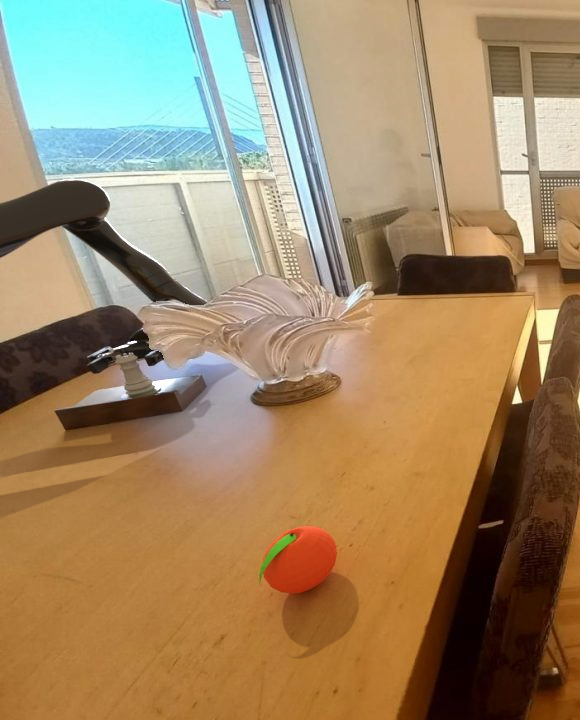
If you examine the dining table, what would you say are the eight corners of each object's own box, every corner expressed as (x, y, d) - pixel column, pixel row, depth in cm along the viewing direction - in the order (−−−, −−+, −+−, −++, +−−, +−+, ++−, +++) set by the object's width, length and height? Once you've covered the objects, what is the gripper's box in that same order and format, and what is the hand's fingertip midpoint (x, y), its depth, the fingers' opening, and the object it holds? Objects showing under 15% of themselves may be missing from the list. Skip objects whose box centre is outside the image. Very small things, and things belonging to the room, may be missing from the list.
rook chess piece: (120, 395, 94) (102, 358, 91) (146, 385, 98) (129, 350, 95) (137, 397, 93) (119, 360, 90) (162, 387, 97) (145, 351, 94)
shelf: (65, 430, 89) (53, 410, 87) (103, 402, 99) (93, 384, 97) (182, 411, 94) (174, 392, 93) (206, 386, 105) (199, 369, 103)
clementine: (299, 623, 49) (277, 572, 46) (248, 609, 51) (225, 559, 48) (357, 564, 56) (341, 517, 53) (311, 553, 58) (294, 507, 55)
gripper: (113, 327, 102) (63, 353, 88) (194, 318, 106) (158, 341, 92) (129, 359, 105) (82, 389, 91) (206, 349, 109) (174, 376, 95)
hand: (121, 365), depth 91 cm, fingers open, 8 cm apart
